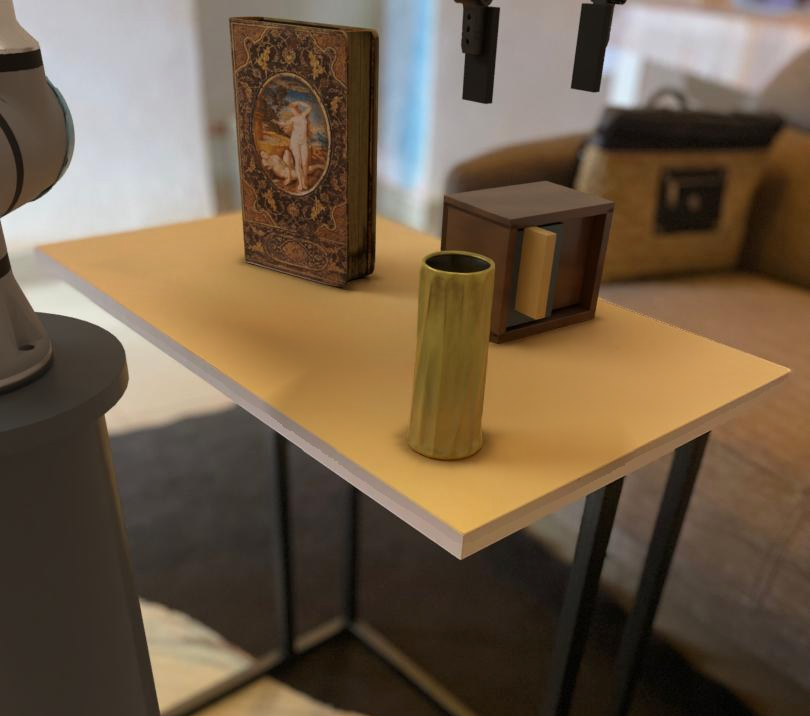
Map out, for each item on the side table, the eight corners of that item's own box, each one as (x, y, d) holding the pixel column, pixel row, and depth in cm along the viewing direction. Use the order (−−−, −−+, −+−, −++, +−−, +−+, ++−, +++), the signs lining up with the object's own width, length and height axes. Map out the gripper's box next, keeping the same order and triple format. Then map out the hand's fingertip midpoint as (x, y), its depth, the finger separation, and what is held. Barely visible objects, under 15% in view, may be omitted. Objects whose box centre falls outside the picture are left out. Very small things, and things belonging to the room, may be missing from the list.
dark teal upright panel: (499, 325, 84) (510, 226, 78) (545, 314, 87) (559, 217, 81) (526, 338, 81) (539, 236, 76) (572, 326, 85) (588, 227, 79)
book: (237, 260, 101) (220, 17, 87) (268, 250, 105) (256, 15, 90) (346, 290, 94) (347, 31, 80) (374, 278, 98) (380, 29, 83)
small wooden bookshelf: (435, 312, 90) (443, 194, 83) (531, 290, 97) (545, 180, 90) (497, 343, 83) (511, 219, 76) (594, 318, 90) (615, 202, 83)
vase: (399, 455, 65) (407, 270, 56) (413, 419, 69) (422, 244, 61) (477, 465, 64) (497, 280, 55) (486, 428, 69) (505, 253, 60)
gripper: (483, -281, 50) (458, 114, 62) (715, -223, 63) (657, 91, 76) (401, -265, 54) (393, 99, 67) (634, -215, 68) (592, 81, 80)
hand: (533, 96), depth 71 cm, fingers open, 13 cm apart
